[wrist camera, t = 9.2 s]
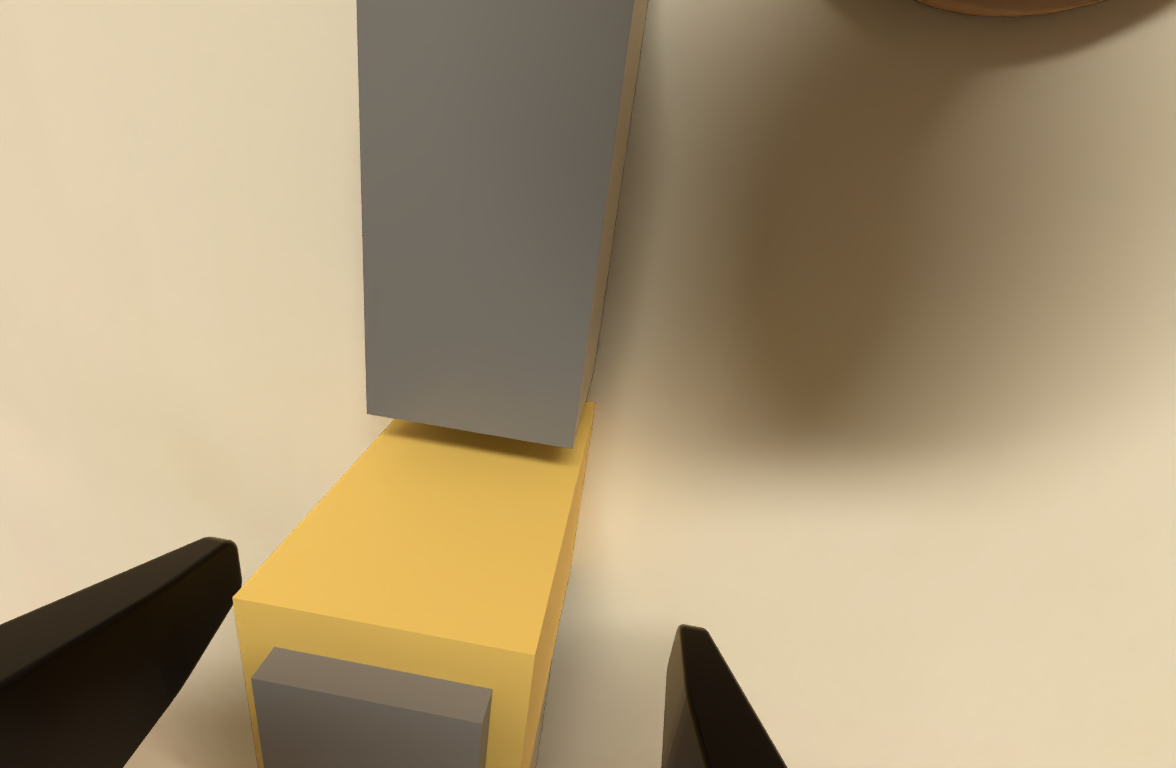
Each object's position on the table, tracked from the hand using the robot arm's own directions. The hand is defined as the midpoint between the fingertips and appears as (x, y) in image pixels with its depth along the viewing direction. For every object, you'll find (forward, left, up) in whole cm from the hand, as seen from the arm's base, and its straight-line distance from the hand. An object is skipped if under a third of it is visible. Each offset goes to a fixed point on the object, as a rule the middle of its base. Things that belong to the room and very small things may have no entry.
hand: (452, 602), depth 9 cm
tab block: (0, 0, -4) cm, 4 cm away
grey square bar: (0, 0, -4) cm, 4 cm away
